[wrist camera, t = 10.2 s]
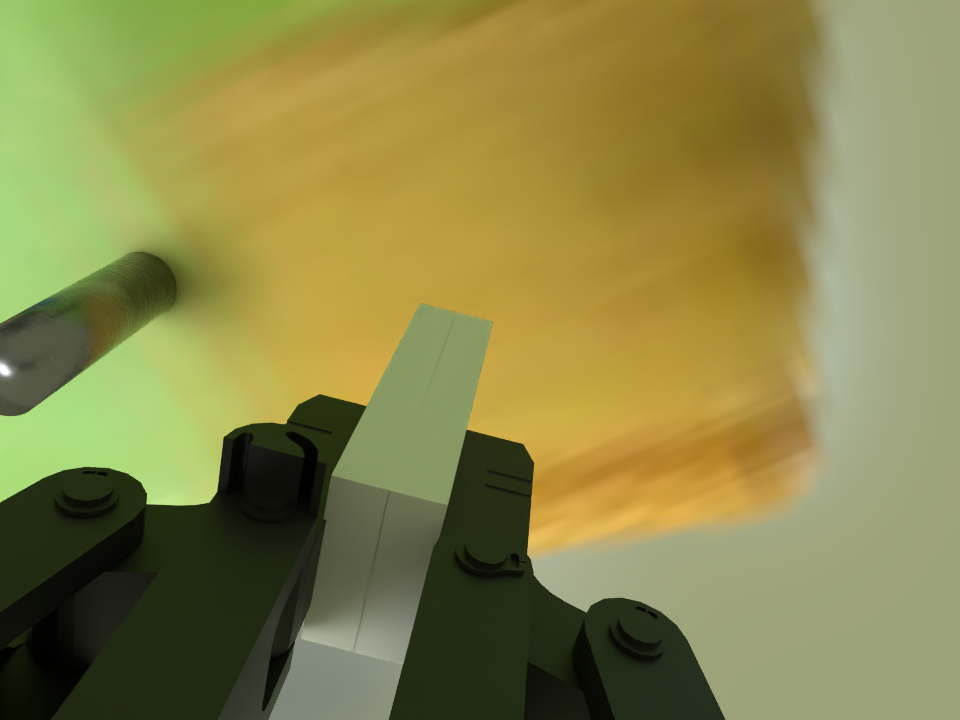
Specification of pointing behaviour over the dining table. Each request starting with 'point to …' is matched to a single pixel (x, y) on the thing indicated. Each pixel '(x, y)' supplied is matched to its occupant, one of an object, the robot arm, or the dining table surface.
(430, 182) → the dining table surface
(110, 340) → the post
